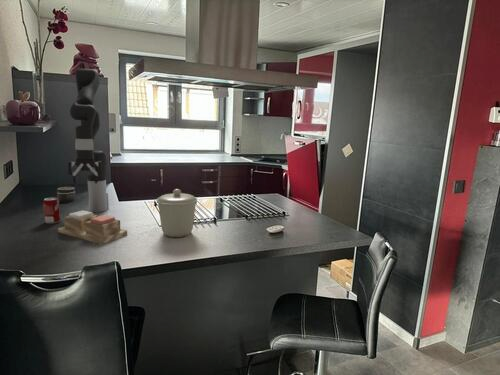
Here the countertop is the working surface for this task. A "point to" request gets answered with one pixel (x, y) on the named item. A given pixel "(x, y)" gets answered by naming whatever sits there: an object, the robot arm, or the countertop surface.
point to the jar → (66, 194)
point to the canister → (177, 213)
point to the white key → (81, 215)
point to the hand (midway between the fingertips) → (85, 183)
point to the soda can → (51, 210)
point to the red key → (102, 219)
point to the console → (92, 230)
